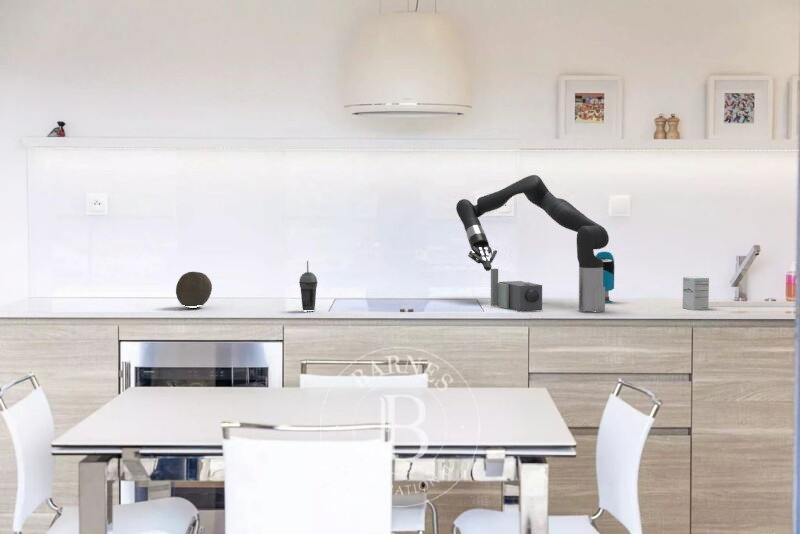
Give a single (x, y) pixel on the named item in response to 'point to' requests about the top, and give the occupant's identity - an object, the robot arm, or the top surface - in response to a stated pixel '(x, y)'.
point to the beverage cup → (308, 290)
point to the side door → (499, 291)
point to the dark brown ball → (193, 289)
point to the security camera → (607, 273)
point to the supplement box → (695, 293)
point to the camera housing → (524, 296)
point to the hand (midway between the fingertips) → (488, 269)
